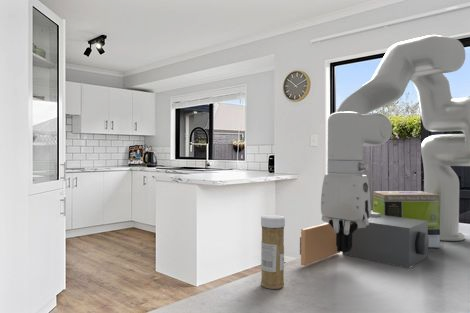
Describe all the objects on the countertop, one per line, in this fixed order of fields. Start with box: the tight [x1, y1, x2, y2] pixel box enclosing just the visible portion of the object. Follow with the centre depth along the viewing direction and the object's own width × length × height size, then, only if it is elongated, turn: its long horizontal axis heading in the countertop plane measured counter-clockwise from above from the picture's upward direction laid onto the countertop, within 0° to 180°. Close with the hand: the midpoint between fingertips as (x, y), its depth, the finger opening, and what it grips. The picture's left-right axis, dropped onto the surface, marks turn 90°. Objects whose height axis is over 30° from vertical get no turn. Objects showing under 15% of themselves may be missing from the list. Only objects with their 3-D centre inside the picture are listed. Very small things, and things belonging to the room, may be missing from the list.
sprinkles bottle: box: [260, 214, 286, 290], centre depth 70 cm, size 5×5×14 cm
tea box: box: [372, 190, 441, 249], centre depth 104 cm, size 15×10×15 cm
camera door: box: [299, 222, 341, 267], centre depth 87 cm, size 2×16×8 cm, turn 135°
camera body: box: [342, 211, 429, 269], centre depth 91 cm, size 13×17×10 cm
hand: (344, 250), depth 81 cm, fingers closed
